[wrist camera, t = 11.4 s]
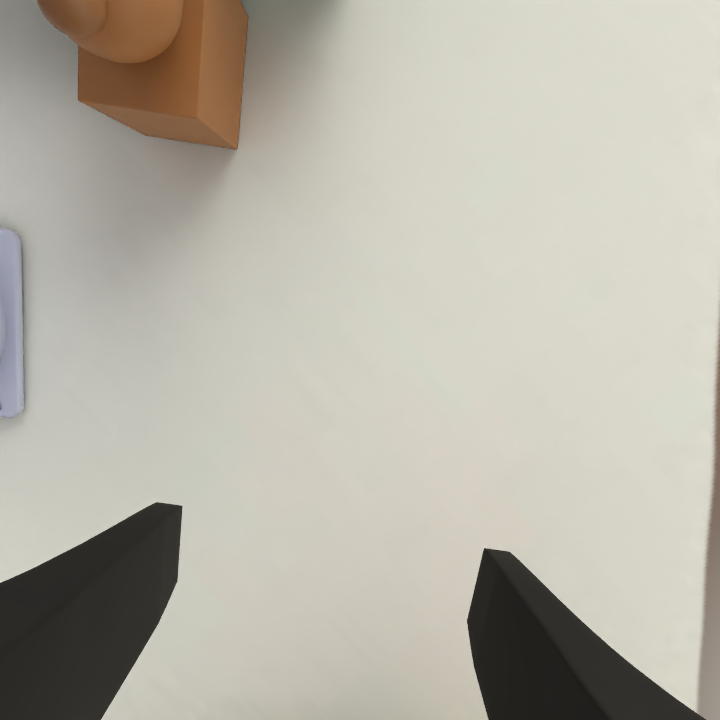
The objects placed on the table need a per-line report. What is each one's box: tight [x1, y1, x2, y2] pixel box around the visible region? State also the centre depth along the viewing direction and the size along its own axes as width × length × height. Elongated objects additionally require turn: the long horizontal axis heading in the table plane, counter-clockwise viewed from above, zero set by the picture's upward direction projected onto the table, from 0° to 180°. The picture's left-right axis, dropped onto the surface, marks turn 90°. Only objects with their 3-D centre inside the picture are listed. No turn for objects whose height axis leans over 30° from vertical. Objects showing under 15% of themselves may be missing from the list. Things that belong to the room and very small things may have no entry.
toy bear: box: [37, 0, 248, 149], centre depth 14 cm, size 4×5×8 cm
